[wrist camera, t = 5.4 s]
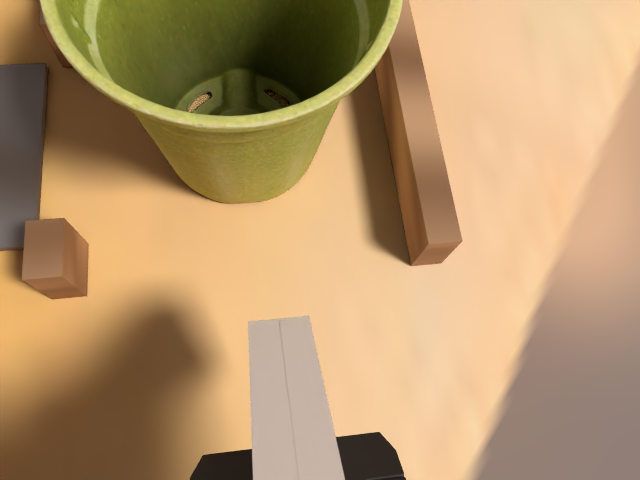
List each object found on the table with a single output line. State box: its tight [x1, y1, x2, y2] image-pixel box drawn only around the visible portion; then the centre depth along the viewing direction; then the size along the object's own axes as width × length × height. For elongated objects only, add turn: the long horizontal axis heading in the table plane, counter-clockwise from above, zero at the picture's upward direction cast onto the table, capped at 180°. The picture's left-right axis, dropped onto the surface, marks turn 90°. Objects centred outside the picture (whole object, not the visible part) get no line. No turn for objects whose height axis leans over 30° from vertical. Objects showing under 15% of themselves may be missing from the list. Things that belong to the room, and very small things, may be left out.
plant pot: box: [39, 0, 403, 203], centre depth 18 cm, size 9×9×9 cm
